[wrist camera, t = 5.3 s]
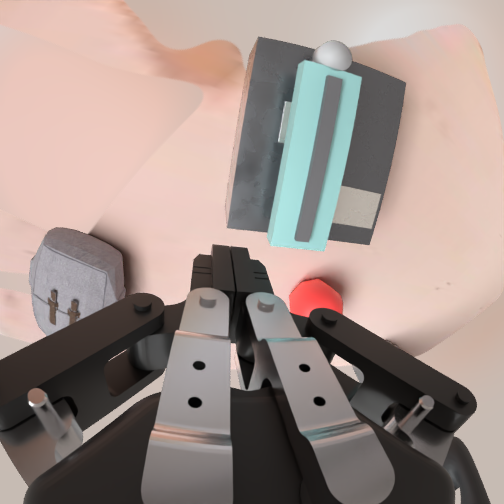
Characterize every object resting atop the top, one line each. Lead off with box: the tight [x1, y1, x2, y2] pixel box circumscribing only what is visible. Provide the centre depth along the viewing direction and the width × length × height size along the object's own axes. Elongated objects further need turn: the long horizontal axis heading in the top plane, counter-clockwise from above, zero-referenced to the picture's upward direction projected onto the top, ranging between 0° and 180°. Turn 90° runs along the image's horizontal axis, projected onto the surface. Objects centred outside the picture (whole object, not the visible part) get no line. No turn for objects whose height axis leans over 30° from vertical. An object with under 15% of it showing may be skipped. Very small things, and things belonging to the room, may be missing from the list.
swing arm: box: [267, 40, 362, 251], centre depth 22 cm, size 18×5×3 cm, turn 171°
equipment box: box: [225, 37, 406, 245], centre depth 29 cm, size 16×19×10 cm
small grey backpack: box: [29, 227, 126, 336], centre depth 35 cm, size 15×8×20 cm
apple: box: [289, 279, 343, 317], centre depth 39 cm, size 8×8×8 cm
